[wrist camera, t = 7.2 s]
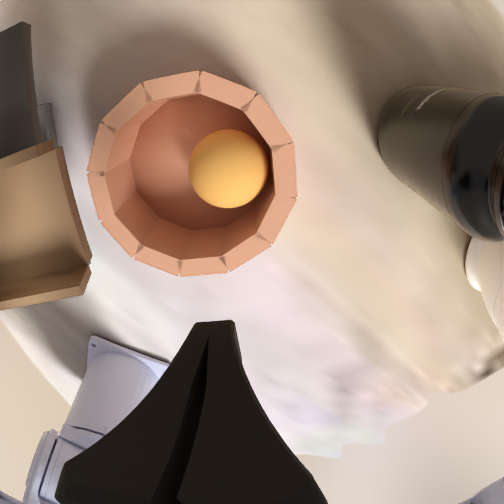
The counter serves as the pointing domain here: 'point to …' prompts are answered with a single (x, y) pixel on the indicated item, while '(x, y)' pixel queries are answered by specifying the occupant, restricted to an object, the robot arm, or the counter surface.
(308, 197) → the counter surface
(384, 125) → the supplement bottle
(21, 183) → the brown tray
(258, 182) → the ball
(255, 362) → the counter surface
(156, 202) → the cup
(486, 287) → the white tapered cylinder
